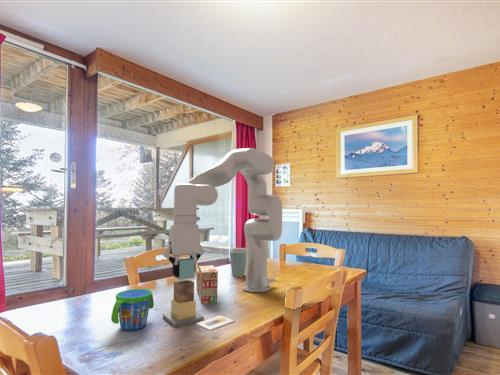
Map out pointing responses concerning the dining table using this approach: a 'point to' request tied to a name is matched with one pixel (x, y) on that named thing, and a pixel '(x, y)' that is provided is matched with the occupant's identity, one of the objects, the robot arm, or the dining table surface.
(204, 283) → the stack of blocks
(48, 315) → the dining table surface
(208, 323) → the tile
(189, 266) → the teal brick
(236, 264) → the disposable coffee cup
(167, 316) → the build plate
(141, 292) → the snack cup
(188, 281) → the walnut brick
